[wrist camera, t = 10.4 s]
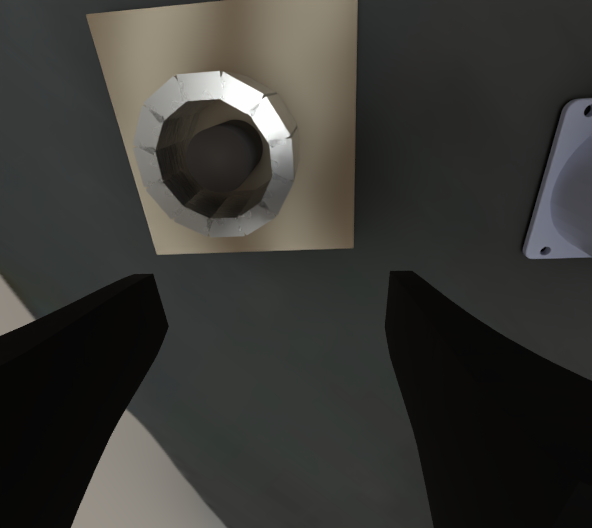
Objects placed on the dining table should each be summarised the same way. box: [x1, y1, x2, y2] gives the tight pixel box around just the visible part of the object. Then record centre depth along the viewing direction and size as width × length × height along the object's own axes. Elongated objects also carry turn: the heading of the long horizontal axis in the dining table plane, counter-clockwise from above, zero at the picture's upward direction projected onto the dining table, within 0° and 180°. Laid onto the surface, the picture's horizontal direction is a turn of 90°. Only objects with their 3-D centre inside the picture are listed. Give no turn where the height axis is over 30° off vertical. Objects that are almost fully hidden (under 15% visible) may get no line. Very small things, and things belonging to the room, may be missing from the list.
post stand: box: [86, 0, 358, 255], centre depth 15 cm, size 11×11×5 cm
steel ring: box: [133, 71, 300, 237], centre depth 14 cm, size 6×6×4 cm
